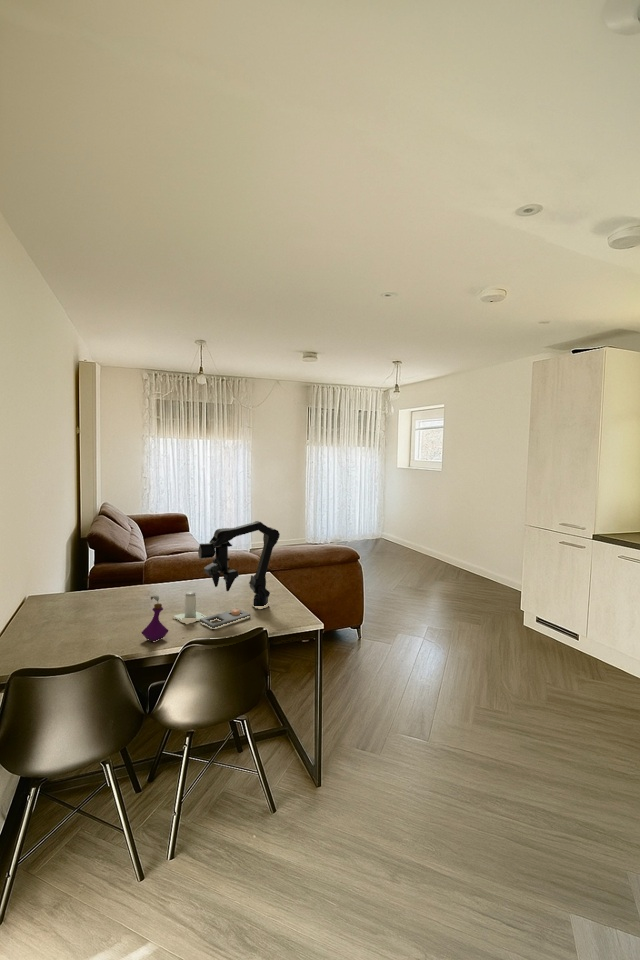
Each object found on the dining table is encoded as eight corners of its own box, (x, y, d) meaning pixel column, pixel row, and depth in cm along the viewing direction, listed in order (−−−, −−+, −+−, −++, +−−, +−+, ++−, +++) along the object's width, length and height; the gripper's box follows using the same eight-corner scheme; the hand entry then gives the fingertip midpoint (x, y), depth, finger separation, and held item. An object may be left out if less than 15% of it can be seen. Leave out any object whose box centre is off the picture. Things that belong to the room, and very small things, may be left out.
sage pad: (194, 612, 211) (194, 610, 211) (207, 618, 204) (207, 616, 204) (172, 618, 203) (172, 616, 203) (185, 625, 196) (185, 623, 196)
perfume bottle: (168, 638, 182) (169, 595, 181) (153, 645, 176) (153, 600, 174) (156, 634, 186) (156, 591, 184) (141, 640, 179) (141, 596, 178)
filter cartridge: (192, 613, 207) (192, 590, 206) (198, 616, 204) (198, 593, 203) (182, 616, 203) (182, 592, 202) (188, 619, 200) (188, 595, 199)
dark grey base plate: (236, 612, 213) (237, 608, 213) (250, 618, 206) (250, 614, 206) (200, 623, 198) (200, 619, 198) (213, 630, 191) (213, 625, 191)
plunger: (236, 614, 209) (236, 608, 209) (241, 617, 206) (241, 610, 206) (229, 617, 206) (229, 610, 206) (234, 619, 203) (234, 613, 203)
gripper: (195, 555, 210) (195, 588, 211) (218, 563, 197) (219, 598, 198) (215, 551, 218) (215, 583, 219) (239, 558, 205) (239, 592, 206)
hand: (221, 588), depth 211 cm, fingers open, 9 cm apart
